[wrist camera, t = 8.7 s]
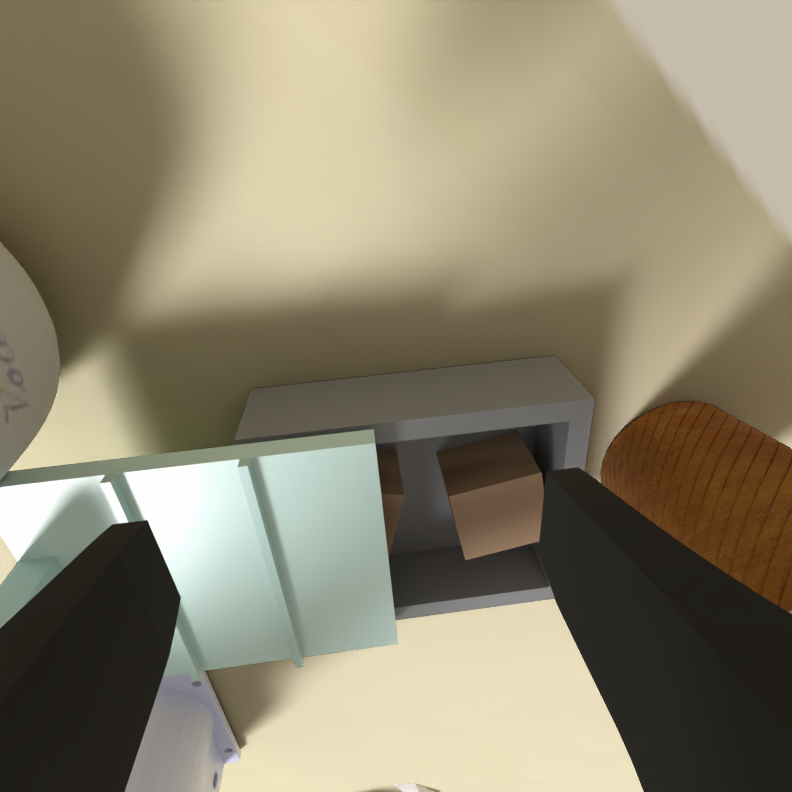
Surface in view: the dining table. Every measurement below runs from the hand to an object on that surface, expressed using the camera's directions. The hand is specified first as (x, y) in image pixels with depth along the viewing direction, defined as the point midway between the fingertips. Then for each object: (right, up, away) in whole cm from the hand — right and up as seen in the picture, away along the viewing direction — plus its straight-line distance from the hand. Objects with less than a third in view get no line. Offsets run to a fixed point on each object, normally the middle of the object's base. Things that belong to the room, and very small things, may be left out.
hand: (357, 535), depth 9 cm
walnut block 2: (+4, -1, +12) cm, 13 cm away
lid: (-6, -4, +9) cm, 11 cm away
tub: (+1, -1, +13) cm, 13 cm away
